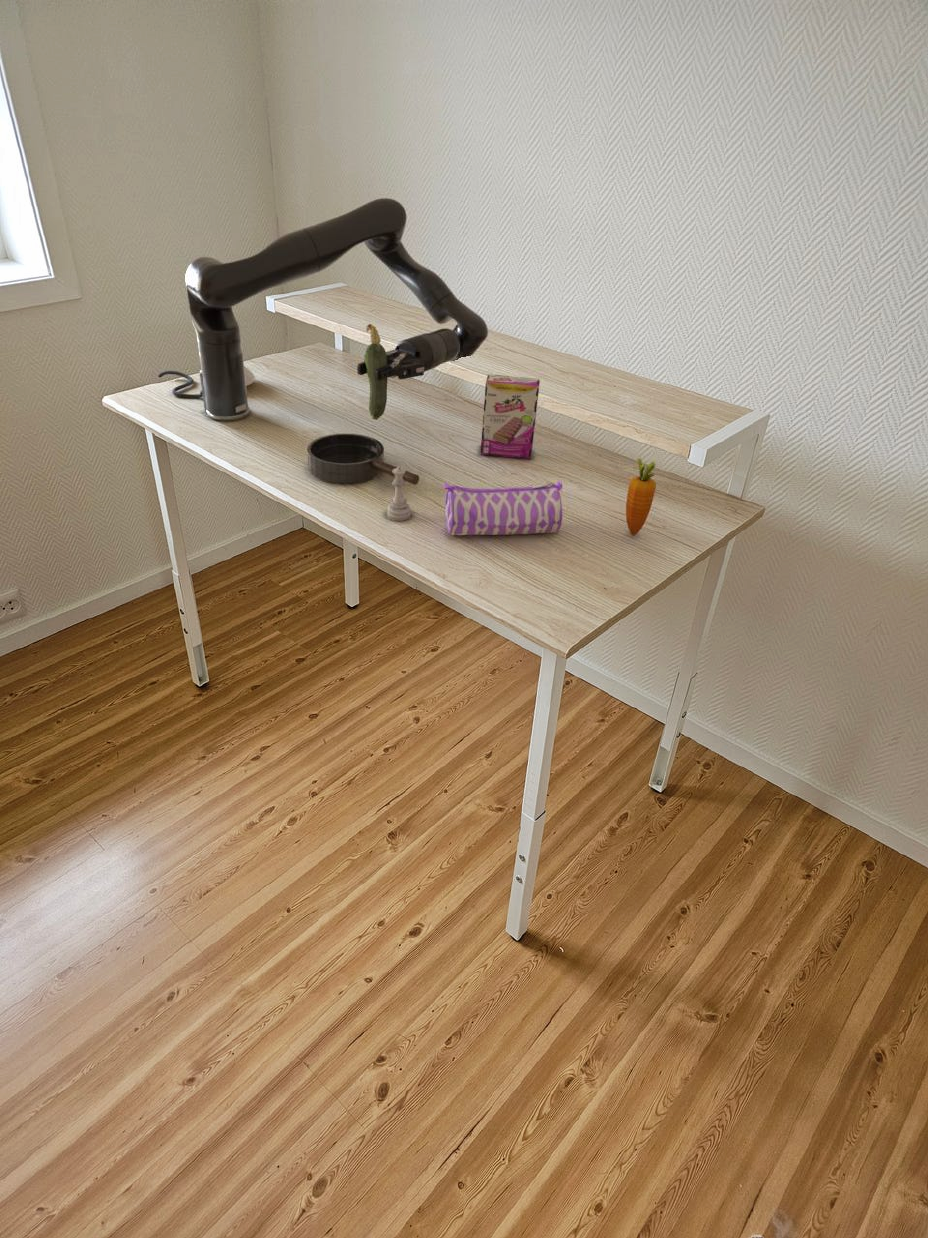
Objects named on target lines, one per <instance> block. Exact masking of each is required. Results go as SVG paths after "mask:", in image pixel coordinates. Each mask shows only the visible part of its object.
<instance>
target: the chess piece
mask: <svg viewBox="0 0 928 1238" xmlns="http://www.w3.org/2000/svg"><path fill="white" fill-rule="evenodd" d="M396 467H397V468H395V469H393V471H392V472H393V473H394V475H395V477H394V480H393V481H392V485H393V486H394V487H395V489H394V490H395V491H394V497H393V499H391V501H390V503H389V505H388V506H387V508H386V509H387V511H386V516H387V518H388V519H390V520H392V521H397V522H402V521H406V520H408V519H410V518H411V515H412V513H411V506H410V505H409V504H408V503H407V500H406V499H405V497H404V490H403V487H404V486H406V481H404V480H403V478H402V477H403V475H404V474H405V472H406V471H407V470H406V469H405V468H403V467H401V465H398V466H396ZM405 470H406V471H405Z"/></svg>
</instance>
